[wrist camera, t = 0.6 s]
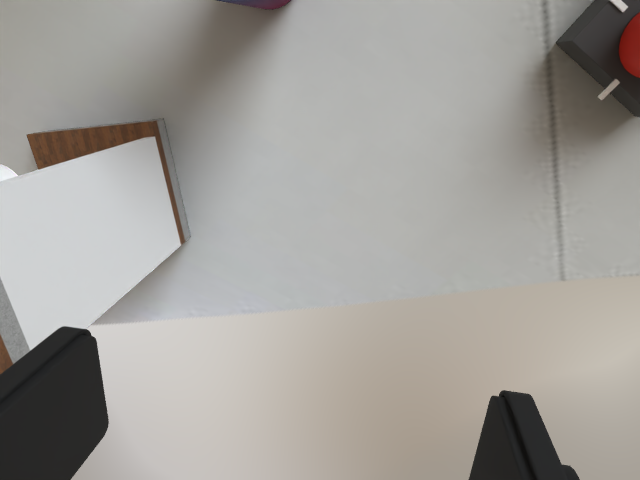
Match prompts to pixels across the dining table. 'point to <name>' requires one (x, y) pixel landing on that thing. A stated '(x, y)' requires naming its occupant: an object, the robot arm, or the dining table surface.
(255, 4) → the cup
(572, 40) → the marked dark base plate
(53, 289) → the display case
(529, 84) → the dining table surface
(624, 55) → the knob
